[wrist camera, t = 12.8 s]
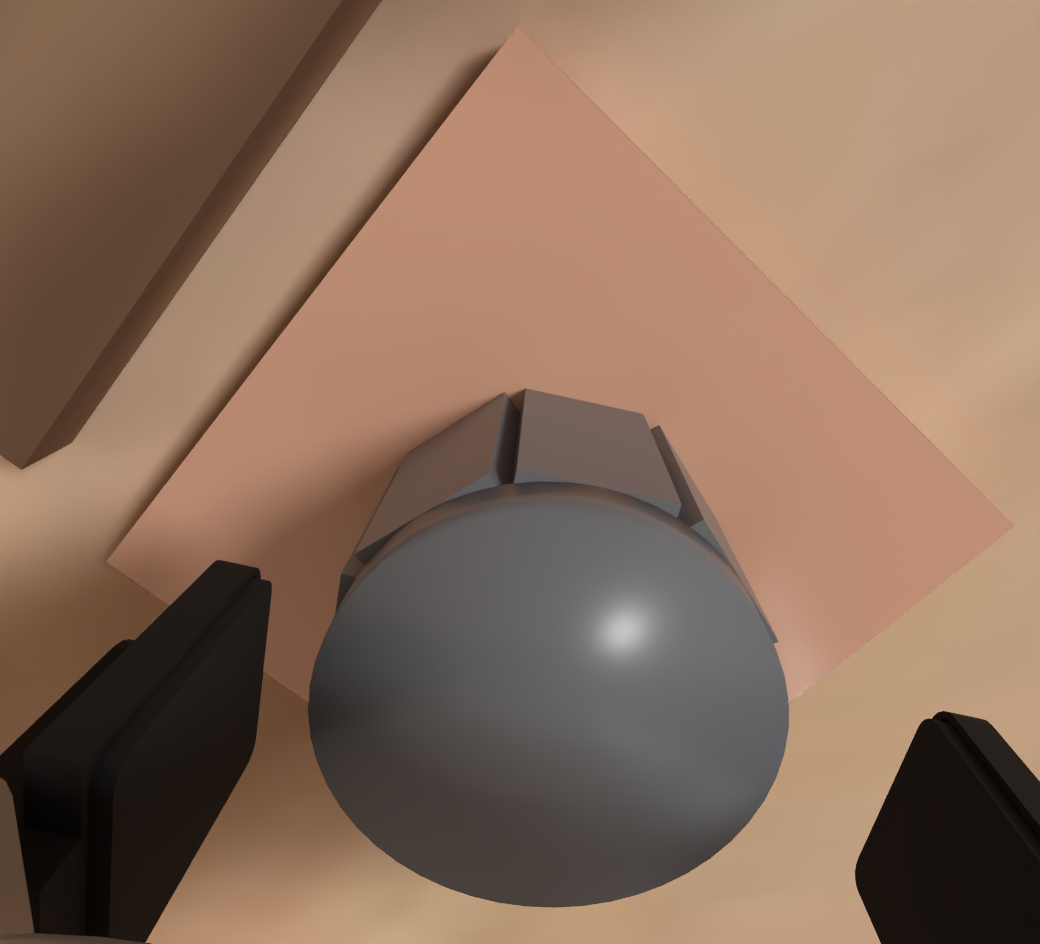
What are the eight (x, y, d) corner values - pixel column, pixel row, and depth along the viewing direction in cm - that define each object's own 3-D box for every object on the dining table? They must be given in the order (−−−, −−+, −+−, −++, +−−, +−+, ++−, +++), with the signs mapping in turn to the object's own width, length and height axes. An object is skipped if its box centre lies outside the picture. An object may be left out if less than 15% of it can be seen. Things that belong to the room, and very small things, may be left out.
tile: (984, 504, 15) (1014, 526, 14) (563, 845, 18) (563, 881, 17) (520, 38, 12) (517, 26, 11) (132, 539, 15) (105, 561, 15)
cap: (657, 710, 15) (706, 941, 11) (366, 652, 15) (285, 862, 10) (751, 437, 13) (863, 574, 9) (414, 363, 13) (340, 463, 8)
